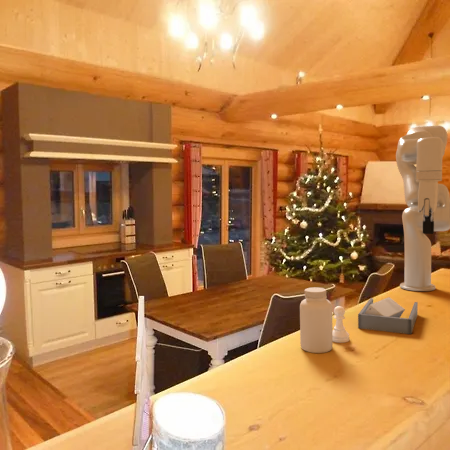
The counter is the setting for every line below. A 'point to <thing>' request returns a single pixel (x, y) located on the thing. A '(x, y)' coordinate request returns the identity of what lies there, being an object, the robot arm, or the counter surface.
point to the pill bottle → (316, 321)
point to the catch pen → (387, 321)
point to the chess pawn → (339, 326)
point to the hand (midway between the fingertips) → (428, 233)
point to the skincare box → (385, 308)
